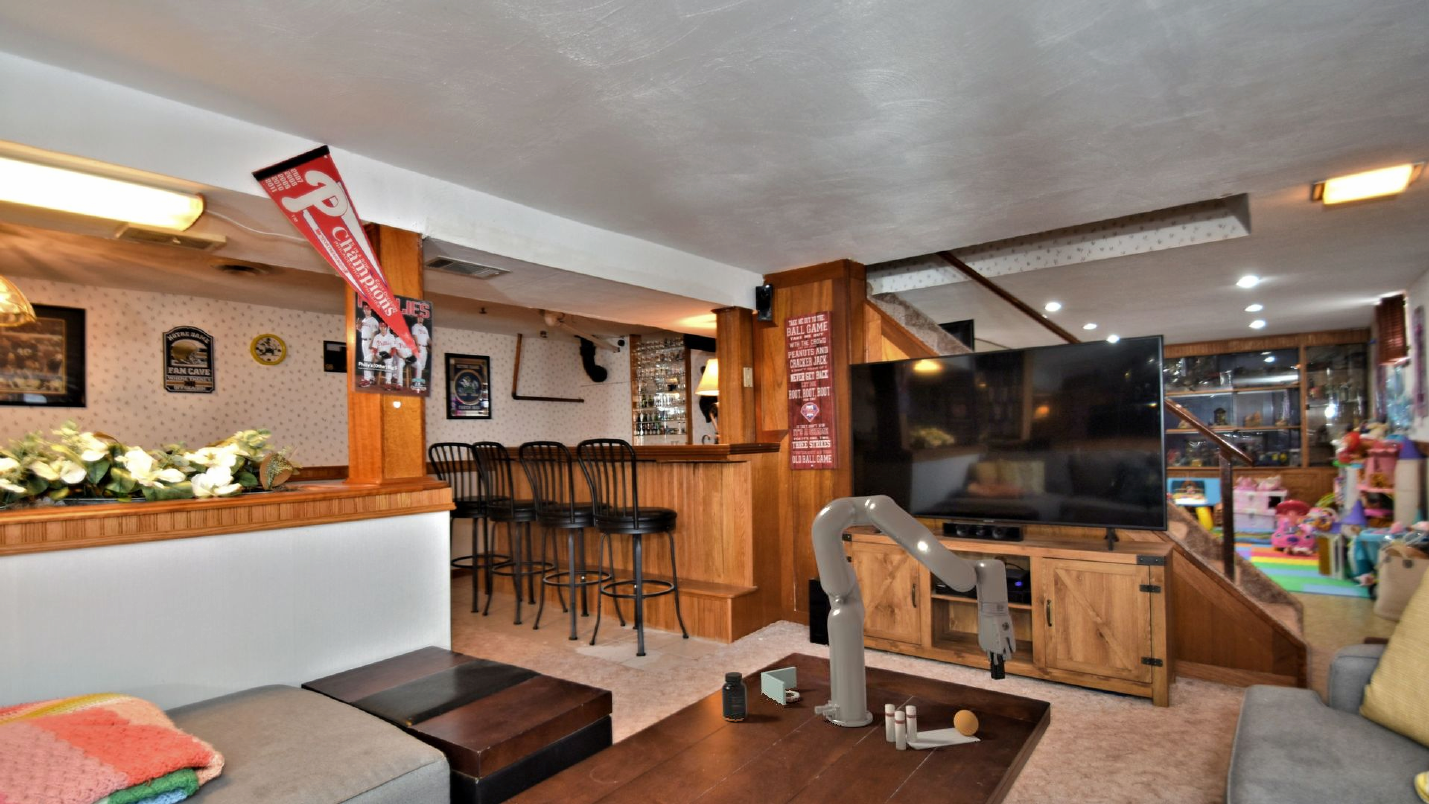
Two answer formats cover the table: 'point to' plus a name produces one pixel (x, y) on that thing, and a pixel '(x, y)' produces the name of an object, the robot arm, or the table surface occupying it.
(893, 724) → the back pin left
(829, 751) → the table surface
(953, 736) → the lane mark
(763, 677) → the right angle wall
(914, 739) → the front pin
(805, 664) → the table surface
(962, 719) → the ball
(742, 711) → the supplement bottle
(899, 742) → the back pin right
